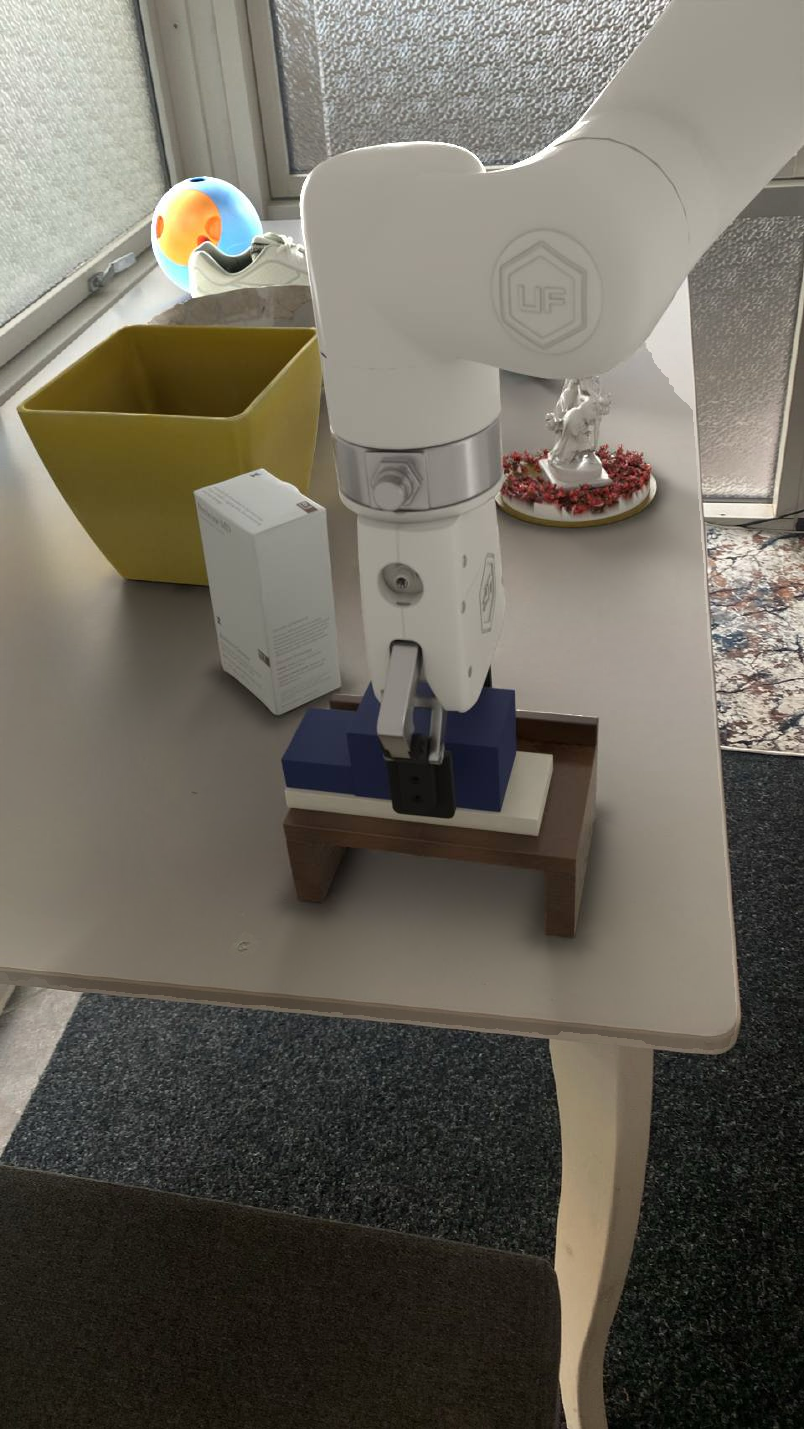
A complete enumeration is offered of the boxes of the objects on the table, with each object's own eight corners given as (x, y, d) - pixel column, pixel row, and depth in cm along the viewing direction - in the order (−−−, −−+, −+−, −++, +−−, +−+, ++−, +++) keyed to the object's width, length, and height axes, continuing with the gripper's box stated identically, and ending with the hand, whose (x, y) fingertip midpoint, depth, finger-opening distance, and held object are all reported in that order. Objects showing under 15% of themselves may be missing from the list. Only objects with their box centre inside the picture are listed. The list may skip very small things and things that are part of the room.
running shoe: (420, 338, 140) (413, 237, 132) (186, 355, 141) (167, 256, 134) (420, 310, 149) (414, 214, 141) (200, 326, 150) (183, 231, 143)
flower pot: (274, 616, 90) (240, 417, 79) (66, 598, 95) (8, 408, 84) (347, 507, 104) (326, 326, 94) (163, 496, 109) (123, 324, 99)
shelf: (595, 814, 68) (599, 716, 64) (574, 938, 61) (576, 836, 56) (346, 787, 72) (332, 692, 68) (296, 899, 64) (277, 801, 60)
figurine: (626, 445, 110) (633, 298, 101) (680, 513, 98) (693, 353, 89) (477, 466, 109) (471, 319, 100) (513, 537, 97) (510, 377, 88)
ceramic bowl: (384, 425, 119) (375, 331, 113) (167, 459, 116) (146, 365, 110) (349, 357, 136) (340, 273, 130) (160, 385, 133) (142, 300, 127)
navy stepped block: (552, 770, 63) (553, 690, 59) (538, 836, 59) (537, 754, 55) (316, 746, 66) (304, 669, 63) (287, 807, 62) (272, 728, 59)
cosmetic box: (221, 671, 84) (183, 490, 75) (289, 640, 87) (259, 462, 78) (280, 721, 78) (246, 532, 69) (350, 687, 81) (327, 500, 72)
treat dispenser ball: (285, 277, 166) (269, 165, 156) (246, 311, 154) (226, 192, 145) (190, 277, 170) (170, 167, 160) (145, 310, 158) (120, 194, 149)
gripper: (460, 552, 42) (483, 873, 53) (532, 383, 56) (539, 666, 66) (275, 545, 44) (332, 856, 54) (387, 383, 57) (416, 658, 68)
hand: (445, 752), depth 60 cm, fingers open, 9 cm apart
